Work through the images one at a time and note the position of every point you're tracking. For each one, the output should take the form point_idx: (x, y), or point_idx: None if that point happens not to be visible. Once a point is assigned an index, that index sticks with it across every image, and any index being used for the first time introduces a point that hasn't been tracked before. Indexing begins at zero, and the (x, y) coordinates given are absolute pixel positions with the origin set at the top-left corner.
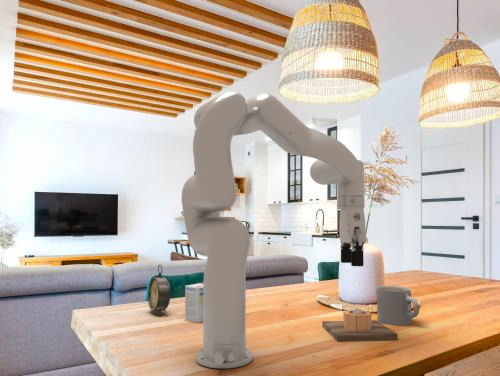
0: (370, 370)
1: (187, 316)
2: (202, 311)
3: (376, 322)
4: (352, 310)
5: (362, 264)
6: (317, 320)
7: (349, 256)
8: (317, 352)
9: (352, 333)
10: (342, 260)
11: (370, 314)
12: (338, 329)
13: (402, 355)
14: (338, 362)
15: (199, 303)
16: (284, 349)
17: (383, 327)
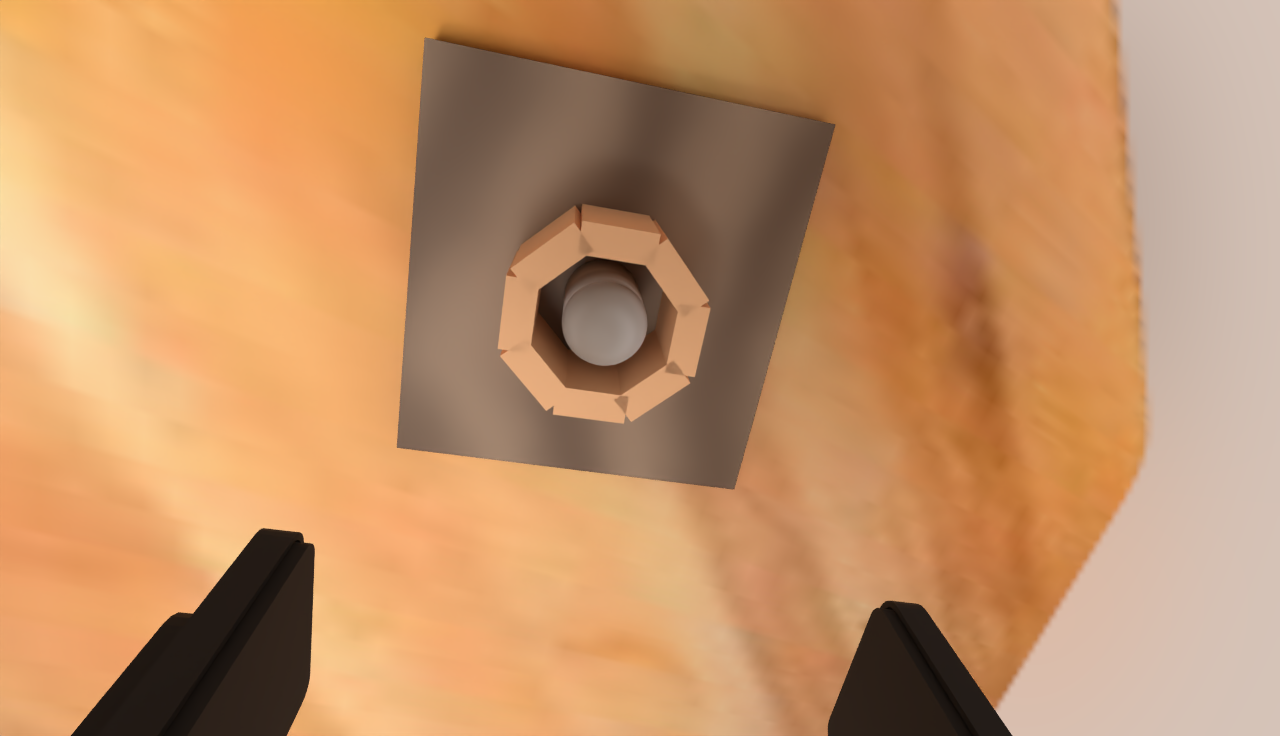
0: (1111, 504)
1: None
2: None
3: (500, 78)
4: (527, 330)
5: (923, 628)
6: (224, 400)
7: (264, 664)
8: (842, 605)
9: (725, 395)
10: (295, 710)
11: (675, 250)
12: (619, 433)
13: (1046, 276)
14: (983, 575)
15: None
16: (757, 703)
17: (654, 116)
